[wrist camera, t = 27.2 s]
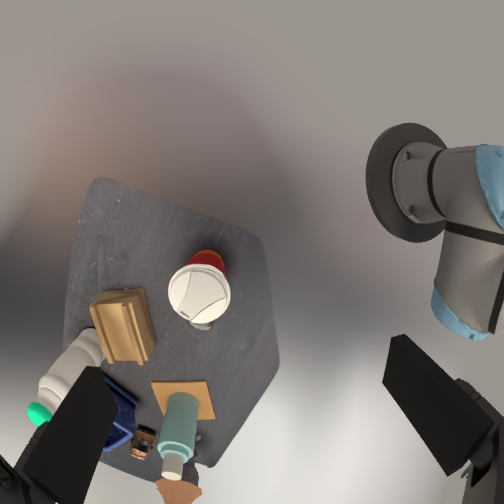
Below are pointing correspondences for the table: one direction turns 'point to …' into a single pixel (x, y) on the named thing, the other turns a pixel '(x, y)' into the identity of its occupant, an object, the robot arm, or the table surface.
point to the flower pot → (121, 417)
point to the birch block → (124, 325)
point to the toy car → (141, 443)
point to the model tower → (182, 483)
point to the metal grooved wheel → (202, 325)
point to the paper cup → (200, 288)
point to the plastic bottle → (178, 434)
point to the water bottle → (65, 375)
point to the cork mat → (191, 387)
